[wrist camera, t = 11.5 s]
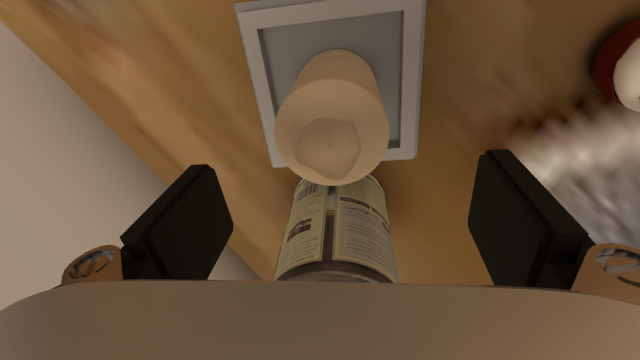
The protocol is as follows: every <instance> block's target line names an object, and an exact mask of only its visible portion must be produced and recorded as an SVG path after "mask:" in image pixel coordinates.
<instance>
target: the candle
mask: <svg viewBox="0 0 640 360" xmlns="http://www.w3.org/2000/svg"><path fill="white" fill-rule="evenodd" d="M389 135H390V132H389V123H388V119H387V115H386V112H385V109H384V106H383V102H382V99H381V96H380V93H379V90H378V86H377V83H376V80H375V77H374V74H373V72H372V70H371V68H370V66H369V65H368V64H367V62H366V61H365V60H364V59H363V58H362V57H360V56H359V55H357V54H356V53H354V52H352V51H349V50H345V49H330V50H326V51H323V52H321V53H319V54H317V55H315V56H314V57H313V58H312V59H310V60H309V62H308V63H307V64H306V65H305V67H304V68H303V70H302V71H301V73H300V75H299V76H298V78H297V80H296V81H295V83H294V85H293V87H292V88H291V90H290V92H289V93H288V95H287V97H286V98H285V100H284V102H283V104H282V105H281V107H280V109H279V111H278V113H277V116H276V120H275V126H274V137H275V143H276V147H277V150H278V152H279V154H280V156H281V158H282V159H283V161H284V162H285V163H286V165H287V166H288V167H289V168H290V169H291V170H292V171H293V172H295V173H296V174H297V175H299V176H300V177H302V178H304V179H306V180H308V181H310V182H313V183H316V184H320V185H327V186H338V185H345V184H349V183H352V182H355V181H357V180H360V179H362V178H363V177H365V176H366V175H368V174H369V173H370V172H372V171H373V170H374V169H375V168H376V167H377V166H378V164H379V163H380V162H381V160H382V158H383V157H384V155H385V153H386V150H387V147H388V143H389Z"/></svg>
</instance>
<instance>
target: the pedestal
mask: <svg viewBox="0 0 640 360" xmlns="http://www.w3.org/2000/svg"><path fill="white" fill-rule="evenodd" d="M426 1H427V0H258V1H251V2H244V3H237V4H234V7H235V12H236V16H237V20H238V24H239V29H240V33H241V37H242V41H243V46H244V50H245V54H246V58H247V63H248V67H249V71H250V75H251V80H252V84H253V88H254V92H255V97H256V101H257V105H258V109H259V114H260V118H261V122H262V126H263V131H264V135H265V139H266V143H267V148H268V152H269V156H270V160H271V165H272V166H273V168H277V167H288V166H287V165H286V163H285V162H284V161H283V159H282V158H281V156H280V154H279V152H278V150H277V147H276V143H275V137H274V126H275V120H276V116H277V113H278V111H279V109H280V107H281V105H282V104H283V102H284V100H285V98H286V97H287V95H288V93H289V92H290V90H291V88H292V87H293V85H294V83H295V81H296V80H297V78H298V76H299V75H300V73H301V71H302V70H303V68H304V67H305V65H306V64H307V63H308V62H309V60H310V59H312V58H313V57H314V56H315V55H317V54H319V53H321V52H323V51H326V50H330V49H345V50H349V51H352V52H354V53H356V54H357V55H359V56H360V57H362V58H363V59H364V60H365V61H366V62H367V64H368V65H369V66H370V68H371V70H372V72H373V74H374V77H375V80H376V83H377V86H378V90H379V93H380V96H381V99H382V102H383V106H384V109H385V112H386V115H387V119H388V123H389V132H390V135H389V143H388V147H387V150H386V153H385V155H384V157H383V158H382V160H381V161H388V160H404V159H413V158H414V157H417V147H418V130H419V114H420V98H421V82H422V66H423V49H424V33H425V17H426Z"/></svg>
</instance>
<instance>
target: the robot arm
mask: <svg viewBox="0 0 640 360" xmlns="http://www.w3.org/2000/svg"><path fill="white" fill-rule="evenodd" d="M468 227H469V230H470V233H471V235H472V237H473V239H474V241H475V244H476V246H477V248H478V250H479V252H480V254H481V257H482V259H483V261H484V263H485V265H486V268H487V270H488V272H489V274H490V276H491V278H492V281H493V283H494V285H457V284H413V283H369V282H317V281H256V280H255V281H254V280H207V279H208V277H209V275H210V273H211V271H212V269H213V267H214V265H215V264H216V262H217V260H218V258H219V256H220V254H221V252H222V251H223V249H224V247H225V245H226V243H227V241H228V239H229V238H230V236H231V234H232V232H233V221H232V219H231V216H230V213H229V210H228V207H227V204H226V201H225V198H224V196H223V193H222V190H221V187H220V184H219V181H218V178H217V175H216V173H215V170H214V169H213V168H210V166H209V165H207V164H202V165H191V166H190V167H189V168H188V169H187V170H186V171H185V172H184V173H183V174H182V175H181V176H180V177H179V178H178V179H177V180H176V181H175V182H174V183H173V184H172V185H171V186H170V187H169V188H168V189H167V190H166V191H165V192H164V193H163V194H162V195H161V196H160V197H159V198H158V199H157V200H156V201H155V202H154V203H153V204H152V205H151V206H150V207H149V208H148V209H147V210H146V211H145V212H144V213H143V214H142V215H141V216H140V217H139V218H138V219H137V220H136V221H135V222H134V223H133V224H132V225H131V227H130V228H128V229H127V231H125V232H124V234H122V235H121V236H120V239H121V241H122V242H123V244H124V246H123V247H122V248H121V249H119V247H117V246H115V245H105V246H100V247H97V248H94V249H92V250H90V251H88V252H86V253H84V254H82V255H81V256H79V257H77V258H76V259H75V260H74V261H72V262H71V263H70V264H69V265H68V266H67V268H66V269H65V270H64V273H63V275H62V280H61V285H59V286H57V287H55V288H53V289H50V290H47V291H44V292H40V293H37V294H35V295H32V296H29V297H27V298H24V299H22V300H20V301H17V302H15V303H13V304H12V305H9V306H8V307H6V308H4V309H3V310H1V311H0V360H640V250H638V249H636V248H632V247H629V246H625V245H620V244H612V243H605V244H598V245H596V244H595V243H594V242H593V241H592V240H591V238H590V237H589V236H588V233H587V232H586V231H585V230H584V229H583V227H582V226H581V225H580V224H579V223H578V222H577V221H576V220H575V219H574V218H573V217H572V216H571V215H570V214H569V213H568V212H567V211H566V209H565V208H564V207H563V206H562V205H561V204H560V203H559V202H558V201H557V200H556V199H555V198H554V197H553V196H552V195H551V194H550V193H549V191H548V190H547V189H546V188H545V187H544V186H543V185H542V184H541V183H540V182H539V181H538V180H537V179H536V178H535V177H534V176H533V175H532V174H531V172H530V171H529V170H528V169H527V168H526V167H525V166H524V165H523V164H522V163H521V162H520V161H519V160H518V159H517V158H516V157H515V156H514V154H513V153H512V152H511V151H510V150H508V149H501V150H488V151H486V153H485V155H481V156H480V157H479V161H478V167H477V172H476V178H475V183H474V189H473V194H472V200H471V205H470V211H469V216H468Z"/></svg>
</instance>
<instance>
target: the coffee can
mask: <svg viewBox="0 0 640 360" xmlns="http://www.w3.org/2000/svg"><path fill="white" fill-rule="evenodd" d="M273 281H317V282H369V283H400V282H399V276H398V270H397V265H396V259H395V254H394V249H393V243H392V237H391V232H390V227H389V221H388V216H387V210H386V205H385V195H384V191H383V189H382V187H381V185H380V184H379V182H378V181H377V180H376V179H375V178H374V177H373V176H372V175H371V174H368V175H366V176H365V177H363V178H362V179H360V180H357V181H355V182H352V183H349V184H345V185H338V186H327V185H320V184H316V183H313V182H310V181H308V180H306V179H304V178H302V180H301V181H300V182H299V184H298V185H297V187H296V189H295V193H294V199H293V203H292V207H291V211H290V215H289V219H288V223H287V227H286V231H285V235H284V239H283V243H282V246H281V250H280V253H279V257H278V261H277V265H276V269H275V274H274V278H273Z"/></svg>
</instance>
